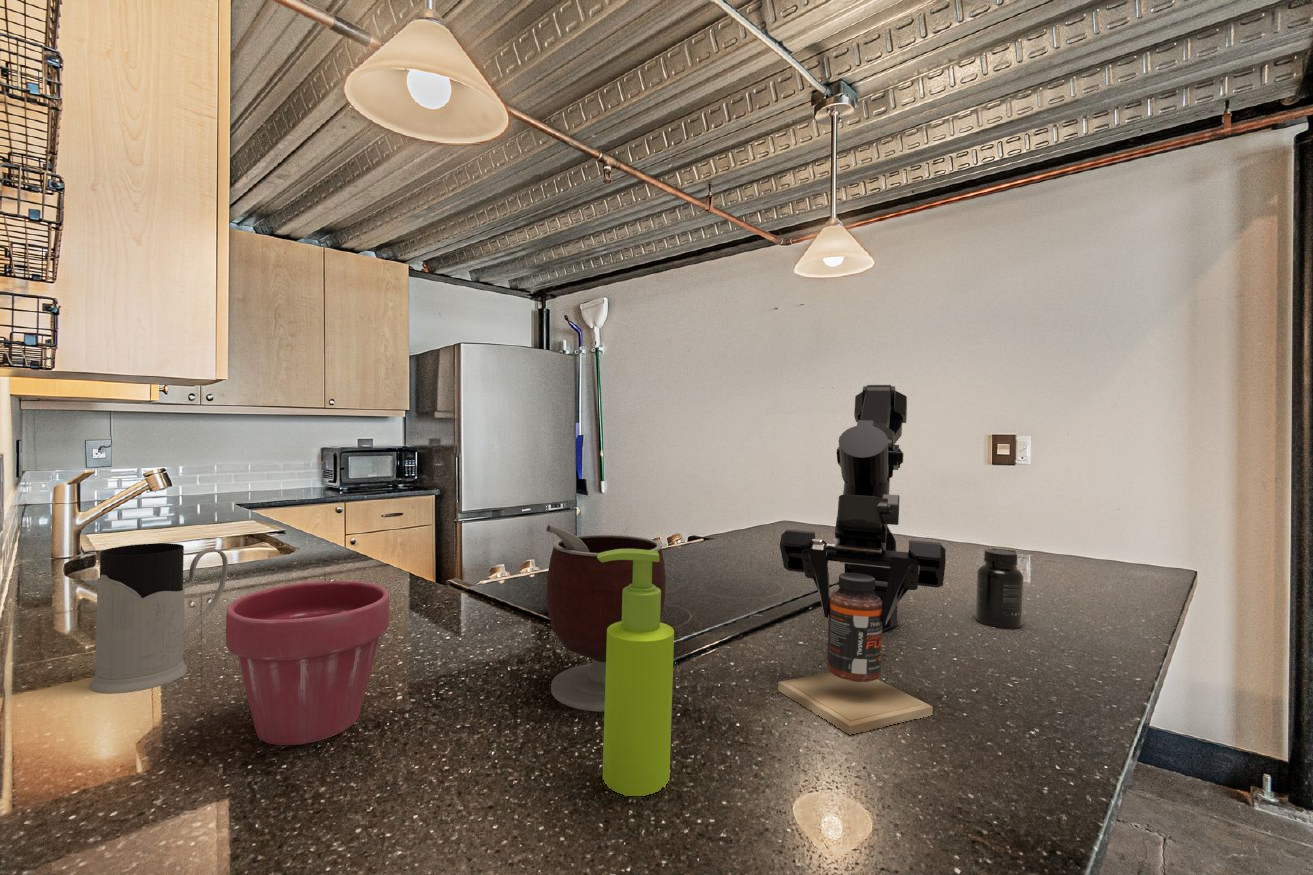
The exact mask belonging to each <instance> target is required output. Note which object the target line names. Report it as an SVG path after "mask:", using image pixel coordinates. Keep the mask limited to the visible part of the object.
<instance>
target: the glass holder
mask: <svg viewBox="0 0 1313 875" xmlns="http://www.w3.org/2000/svg"><path fill="white" fill-rule="evenodd" d="M184 547H185V546H184V545H183V544H179V543H172V542H171V543H170V542H168V543H165V542H163V543H162V542H159V543H158V542H157V543H156V542H155V543H139V544H129V545H121V546H115V547H109V548H107V549H104V550H102V551H100V552H99V553H100V554H99V577H97V581H96V582H97V586H96V588H97V589H96V590H97V591H96V592H97V593H96V595H97V596H96V624H95V625H96V626H95V628H96V630H95V631H96V632H95V633H96V634H95V669H94V671H95V673H94V675H93V678H92V680H91V682H90V684H89V687H88V688H89V689H90V690H91V691H93V692H95V693H99V694H123V693H132V692H138V691H144V690H148V689H153V688H156V687H157V688H158V687H160V686H164V685H166V684H168V683H172V682H174V681H176V680H178V679H180V678H181V677H183V676H185V675H186V673H187V672H188V667H187V665H186V663H185V661H184V641H185V640H186V638H188V636H189V635H190V634H191V633H192V632H193V631H194V630H195V629H196V628H197V627H198V626H199V625H200V624H201V622H202V621H204V619H205V618H206V617H207V616H208V615H209V613H211V611H213V609H214V607H216V606H217V603H218V601H219V599H220V598H221V595H222V593H223V591H224V589H225V586H226V582H227V578H228V569H229V564H228V563H229V562H228V557H227V555H226V553H225V552H224V551H222V550H220V549H216V548H206V549H204V550H201V551H199V552H198V553H197V554H196V555H195V556H194V558H192V561H191V563H190V566H189V572H188V573H189V575H188V580H187V582H186V583H185V584H184V558H185V557H184V553H185V550H184V549H185V548H184ZM210 552H215V553H218V554H219V556H220V557H221V560H222V561H221V563H222V568H221V569H222V570H221V576H220V581H219V584H218V587H217V590H216V591H215V594H214V596H213V598H212V599H211V600H210V601H211V602H210V603H209V604H208V605H207V607H206V608H205V609H204V611H203V612H202V613H201V614H200V615H199V616H198V617H197V618H196V620H194V621H193V622H192V624H191V625H190V626H189V627H188V628H187V629H186V630H184V625H185V623H184V622H185V593H186V592H185V589H188V588H189V587H191V586H192V585H193V584H194V582H195V580H196V570H197V566H198V563H199V561H201V560H200V559H201V558H203V556H204V555H205V554H207V553H210Z"/></svg>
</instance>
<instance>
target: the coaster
mask: <svg viewBox="0 0 1313 875" xmlns="http://www.w3.org/2000/svg"><path fill="white" fill-rule="evenodd" d="M777 691H778V692H780V693H782V694H784V695H785V696H786V697H788V698H789V699H791V700H793V701H794V702H796V703H797V702H798V703H797V704H798V705H800V704H801V705H800V706H802V707H804V706H805V707H806V708H805V707H804V708H805V709H807V710H808V711H810V710H811V711H812V712H811V711H810V712H811V713H813V714H814V715H817V716H818V715H819V716H820V717H819V716H818V717H819V718H821V717H822V718H823V720H824V719H826V720H827V721H828V722H827V721H826V720H825V721H826V722H827V723H829V722H830V723H832V724H833V725H832V724H831V725H832V726H834V725H835V726H836V727H835V726H834V727H835V728H837V729H838V728H840V729H841V730H842V732H843V731H844V732H843V733H845V732H846V733H847V734H846V733H845V734H846V735H848V734H849V735H851V734H855V733H858V732H863V733H867V732H871V731H874V730H873V729H875V730H878V729H877V728H880V729H883V727H884V728H886V727H885V726H888V727H890V726H889V725H892V726H894V725H893V724H896V725H898V724H897V723H900V724H903V723H902V722H904V723H906V722H905V721H908V722H910V721H909V720H912V721H914V720H913V719H917V720H920V718H921V719H924V718H928V716H929V717H932V716H931V715H933V716H934V714H933V712H934V711H933V710H934V709H933V708H934V707H933V705H930V704H928V703H927V702H924V701H922V700H920V699H918V698H916V697H915V696H912V695H910V694H908V693H906V692H905V691H902V690H900V689H898V688H896V687H894V686H892V685H889V684H888V683H886V682H884V681H881V680H879V678H877V679H875V680H873V681H869V682H854V681H849V680H845V679H842V678H839V677H837V676H835V675H833V674H832V673H831V672H830V671H829V672H825V673H820V674H815V675H814V674H813V675H809V676H803V677H798V678H791V679H786V680H782V681H778V682H777ZM923 717H924V718H923ZM822 718H821V719H822ZM830 723H829V724H830ZM840 729H839V730H840ZM841 730H840V731H841ZM870 730H871V731H870ZM849 735H848V736H849ZM855 735H856V734H855ZM851 736H852V735H851Z"/></svg>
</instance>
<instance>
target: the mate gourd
mask: <svg viewBox="0 0 1313 875" xmlns="http://www.w3.org/2000/svg"><path fill="white" fill-rule="evenodd" d="M545 532H547V533H550V534H551V533H552V534H554V535H556V536H557V537H558V538H559V539H556V540H555V541H553V543H552V551H551V555H550V558H549V564H548V570H547V575H546V602H547V603H546V604H547V609H548V610H547V612H548V617H549V623H550V626H551V630H552V631H553V633H554V634H555V635H556V637H557V638H558V640H559V641H560V643H562V644H561V645H563V647H564V648H565V649H566V650H568V651H570V652H572V653H575V654H578V655H580V656H584V657H587V658H590V659H592V663H589V664H581V665H578V666H573V667H571V668H568V669H565V670H563V671H561V672H559V673H558V674H556V675H555V676H554V677H553V678H552V680H551V685H550V691H551V696H553V698H554V699H555V700H556V701H558V703H559V702H560V704H562V705H565V706H567V707H570V708H573V709H577V710H582V711H587V710H588V711H589V712H605V680H606V647H607V628H608V627H609V626H610V625H612V624H614V623H617V622H620V621H622V593H623V589H624V588H625V587H627V586H628V585H630V584H632V581H633V560H612V561H607V562H600V561H599V560H598V559H597V554H598V553H601V552H605V551H610V550H616V549H643V550H652V551H658V553H659V562H653V561H652V584H653V585H655V586H656V587H657V588H659V589H660V590H661V609H660V622H662V621H661V620H662V618H663V612H664V606H665V601H666V585H667V583H666V580H667V579H666V577H667V576H666V567H665V566H666V565H665V559H664V553H663V550H662V548H663V545H662V543H661V542H660V541H657V540H654V539H650V538H647V537H641V536H632V535H622V534H621V535H620V534H587V535H586V534H583V535H574V534H573V533H571V532H568V531H566V530H565V529H562V528H561V527H557V526H554V525H552V524H548V525H547V526H546V528H545ZM588 711H587V712H588Z"/></svg>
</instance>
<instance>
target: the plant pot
mask: <svg viewBox="0 0 1313 875" xmlns="http://www.w3.org/2000/svg"><path fill="white" fill-rule="evenodd" d="M389 624H390V594H389V591H388V590H387V588H385V587H383V586H380V585H378V584H374V583H371V582H370V583H369V582H363V581H354V580H352V581H351V580H325V581H324V580H323V581H311V582H310V581H308V582H299V583H293V584H292V583H291V584H287V585H286V584H285V585H281V586H280V585H279V586H274V587H271V588H267V589H262V590H259V591H255V592H251V593H248V594H246V595H244V596H241V597H240V598H238V599H236V600H234V601H233V602H231V603H230V604H229V605H228V606H227V609H226V616H225V626H226V627H225V645H226V648H227V651H229V652H230V653H232V654H233V655H235V656H237V658H238V662H239V668H240V672H241V677H242V681H243V686H244V691H245V694H246V698H247V702H248V706H249V710H250V713H251V717H252V721H253V725H254V729H255V733H256V735H257V738H258V739H260V740H261V741H262V742H265V743H267V744H271V745H275V746H276V745H277V746H296V745H297V746H298V745H304V744H310V743H314V742H315V743H316V742H319V741H321V740H326V739H328V738H331V737H333V736H336V735H338V734H340V733H342V732H344V731H346V730H347V729H349V728H350V727H352V726H353V725H354V724H355V723H356V722H357V721H358V719H359V716H360V713H361V710H362V705H363V703H364V699H365V695H366V692H367V688H368V683H369V680H370V676H371V672H372V668H373V663H374V660H375V656H376V652H377V646H378V642H379V639H380V638H379V637H382V635H384V634H385V633H386V632H387V630H388V628H389V626H390V625H389Z"/></svg>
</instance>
